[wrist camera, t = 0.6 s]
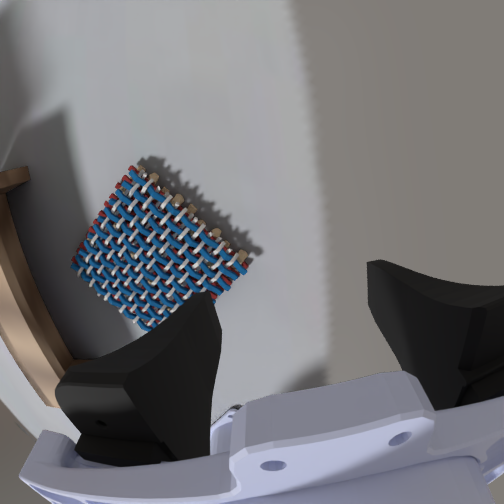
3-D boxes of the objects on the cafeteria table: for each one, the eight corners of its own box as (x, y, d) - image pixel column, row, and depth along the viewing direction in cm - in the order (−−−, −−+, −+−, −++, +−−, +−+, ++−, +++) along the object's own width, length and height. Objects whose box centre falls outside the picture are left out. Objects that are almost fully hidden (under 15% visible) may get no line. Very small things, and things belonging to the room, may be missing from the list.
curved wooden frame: (106, 368, 25) (82, 411, 19) (71, 368, 25) (46, 405, 20) (27, 165, 18) (-24, 178, 12) (-4, 184, 18) (-51, 200, 13)
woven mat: (141, 155, 18) (129, 156, 17) (255, 255, 21) (255, 266, 19) (74, 258, 21) (61, 268, 19) (170, 339, 24) (164, 354, 22)
